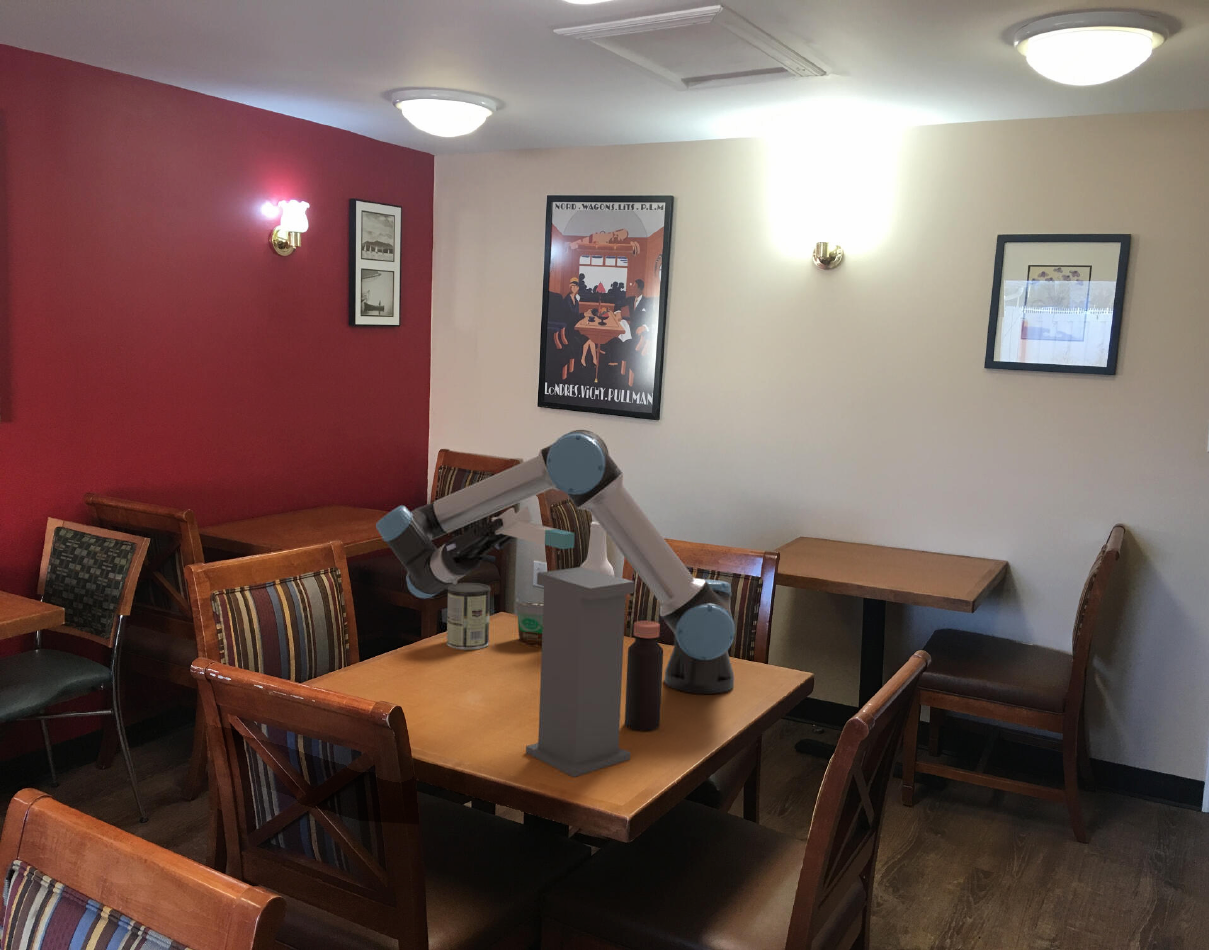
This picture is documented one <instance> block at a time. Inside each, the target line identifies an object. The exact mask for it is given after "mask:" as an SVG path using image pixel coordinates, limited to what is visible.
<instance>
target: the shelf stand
mask: <svg viewBox="0 0 1209 950" xmlns="http://www.w3.org/2000/svg"><path fill="white" fill-rule="evenodd" d="M536 584H537V585H539V586H542V587H543V630H542V646H541V660H540V661H541V663H540V685H539V687H540V690H539V713H538V714H539V715H538V716H539V717H538V736H537V738H538V740H537V742H536V743H533V744H530V745H526V746H525V753H526V754H528V755H529V756H531V757H533V758H535V759H537V760H540V762H541V761H542V762H543V763H545V764H547V765H549V766H551V767H552V768H555V769H556V770H559V771H560V772H562V773H564V774H567V775H568V776H571V777H572V778H575V777H577V776H581V775H584V774H588V773H591V772H594V771H597V770H600V769H603V768H607V767H610V766H612V765H616V764H619V763H623V762H626V761H628V760H630V759H631V752H630V751H627V750H625V749H624V748H622V747H619V745H620V724H621V723H620V722H621V721H620V720H621V702H622V683H623V681H622V680H623V662H624V661H623V660H624V659H623V658H624V656H623V655H624V640H625V639H624V637H625V618H626V616H625V615H626V611H625V610H626V595H630V594H631V595H632V594H634V593H635V581H634V580H630V579H626V578H623V577H619V576H615V575H614V576H612V575H608V574H605V573H601V572H597V571H594V570H590V569H586V568H583V567H581V566H579V567H572V568H565V569H556V570H550V571H548V570H547V571H540V572H537V574H536Z"/></svg>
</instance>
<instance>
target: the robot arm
mask: <svg viewBox="0 0 1209 950" xmlns="http://www.w3.org/2000/svg"><path fill="white" fill-rule="evenodd" d="M608 449H609V448H608V446H607V444H606V442H605V441H604V440H603V439H602V438H601V436H599V435H598V434H597V433H595V432H593V431H590V430H586V429H575V430H573V431H569V432H568V433H564V434H563V435H562V436H560V437H558V439H557V440H555V442H554V443H551V444H550V445H548V446H546V447H544V448H541V449H540V450H539V453H538V454H537V456H535V457H532V458H530V459H528V460H526V461H524V462H521V463H519V464H517V465H514V466H512V467H511V468H510V467H509V468H508V469H507V468H506V469H505V470H503V471H501V472H499V473H496V474H494V475H492V476H489V477H487V478H485V479H483V480H480V481H478V482H475V483H473V484H471V485H468V486H467V487H464V488H462V489H460V490H457V491H455V492H453V493H451V494H448V495H446V496H443V497H442V498H439V499H437V500H434V502H430V503H428V504H426V505H424V506H423V505H422V506H419V507H417V508H414V509H413V510H411V511H410V510H409V509H408V508H407V507H406V506H405V505H399V506H397V507H396V508H394V509H392V510H391V511H390V512H389V513H387V514H385V516H383V517H382V518H380V519H379V520H378V521H377V522H376V524H375V528H376V530H377V532H378V533H379V535H380V536H381V538H382V540H383V541H384V542H385V543H386V544H387V546H388V547H389V548H390V549H391V551H392V553H394V555H395V556H396V557H397V558H398V560H399V561H400V562H401V564H402V565H403V567H404V569H405V570H406V571H407V574H406V577H405V581H406V585H407V588H408V591H409V592H410V593H411V594H412V595H413V596H415V597H417V598H419V599H420V598H421V599H429V598H432V597H433V596H436V595H439V594H440V593H442V592H443V591H445V590H447V587H449V586H450V585H452V584H457V583H458V581H459V580H460V579H463V577H465V576H466V575H468V574H470V573H472V572H473V571H475V570H477V569H478V568H479V566H481V565H480V564H482V563H481V562H482V561H483V557H484V556H486V555H487V554H488V553H489V552H491V551H492V550H494V549H495V548H496V549H497V550H498V551H503V550H504V549H505V548H506V546H508V544H510V543H511V542H513V541H514V540H515V539H517V538H516V537H512V536H508V535H504V534H500V533H502V532H503V531H504V530H506V529H507V528H509V527H510V526H512V525H513V524H515V523H516V522H518V521H517V520H519V521H524V522H528V523H531V521H532V517H531V516H532V515H531V512H530V509H529V506H524V507H523V508H521V509H519V510H518V511H517V512H515V507H511V506H513V505H516V504H518V503H520V502H523V501H525V500H528V499H530V498H532V497H534V496H538V495H539V494H542V493H544V492H546V491H548V490H551V489H553V490H556V491H562V492H563V493H565V494H566V496H567V497H568V498H569V499H570V501H571V502H572V504H574V505H575V506H576V508H577V510H585V511H588V512H589V513H590V514H591V515H592V516H593V518H594V519H595V522H598V523H599V524H600V526H601V527H602V528H603V530H604V531H605V532H606V536H608V538H609V539H610V540H611V541H612V543H613V544H614V545H615V546H616V548H617V549H618V550H619V551H620V553H621V554H622V556H623V557H624V558H625V559H626V561H627V562H628V563H629V565H630V566H631V567H632V568H633V570H634V571H635V573H637V575H638V576H639V578H640V579H641V580H642V581H643V582H644V584H645V586H647V588H648V589H649V590H650V592H651V593H652V594H653V596H654V597H655V598H656V600H658V602H659V604H660V607H659V615H660V616H661V618H662V619H663V620H664V622H665V623H666V624H667V626H668V627H669V629H670V630H671V631H672V632H673V634H674V645H673V649H672V652H671V654H670V657H669V659H668V662H667V665H666V667H665V670H664V683H665V684H666V686H668V687H670V688H672V689H674V690H677V691H680V692H686V693H690V694H691V693H692V694H701V695H712V694H721V693H726V692H728V691H730V690H733V688H734V687H735V685H734V684H735V683H734V682H735V674H734V672H733V671H734V670H733V666H732V663H731V658H730V655H729V652H728V651H729V649H730V648H731V645H732V644H733V642H734V638H735V633H736V625H735V621H734V618H733V615H732V610H731V598H732V586H731V583H729V582H727V581H723V580H715V579H704V578H697V577H694V575H693V574H692V573H691V572H690V571H689V569H688V568H687V567H686V565H685V563H683V562H682V561H681V559H680V557H678V555H677V554H676V553H675V551H674V550H673V549H672V547H671V545H669V544H668V542H667V540H665V538H664V537H663V536H662V535H661V533H660V532H659V530H658V529H657V528H656V527H655V526H654V524H653V523H652V521H651V520H650V519H649V517H648V516H647V515H646V514H645V512H644V511H643V510H642V508H641V507H640V505H638V503H637V502H636V501H635V499H634V497H632V496H631V494H630V493H629V491H628V490H627V489H626V488H625V486H624V484H623V480H624V473H623V472H622V470H621V469H620V468H619V466H618V465H617V463H615V461H614V459H612V457H611V456H610V454H609V450H608ZM509 507H510V508H509ZM507 508H509V509H507ZM505 509H507V510H506V511H504V512H503V513H501V514H500V515H498V516H496V517H497V518H496V519H494V520H493V521H492V520H491V521H490V522H489V521H488V522H485V523H484V524H483V525H482V524H480V523H479V524H476V525H474V526H472V527H471V528H469V529H467V530H466V531H464V532H463V533H461V534H459V535H455V537H453V538H451V539H450V540H449V541H446V542H445V543H444V544H443V545H441V546H440V547H439V548H437V546H436V545H435V544H434V543H433V541H432V540H436V539H438V538H439V537H442V536H445V535H447V534H449V533H451V532H453V531H456V530H458V529H460V528H462V527H466V526H467V525H469V524H471V523H473V522H474V523H475V522H477V521H479V520H481V519H483V518H487V517H488V516H491V515H492V514H495V513H498V512H499V511H502V510H505Z"/></svg>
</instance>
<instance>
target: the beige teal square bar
mask: <svg viewBox="0 0 1209 950" xmlns="http://www.w3.org/2000/svg"><path fill="white" fill-rule="evenodd" d="M497 517H498V516H496V517H495V516H494V517H491V522H492V521H493V520H494V519H496V518H497ZM517 521H518V522H516V523H515V524H513V525H512V526H510V527H509V528H507V529H506V530H504V531H503V532H502V533H500V534H504V535H508V536H512V537H516V538H515V539H520V540H521V539H522V540H525V541H529V542H533V543H537V544H540V545H545V546H548V547H553V548H556V549H561V550H566V549H574V548H575V532H571V531H566V530H563V529H559V528H558V529H557V528H553V527H549V526H545V525H540V524H536V523H532V522H529V523H528V522H524V521H519V520H517Z"/></svg>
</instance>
